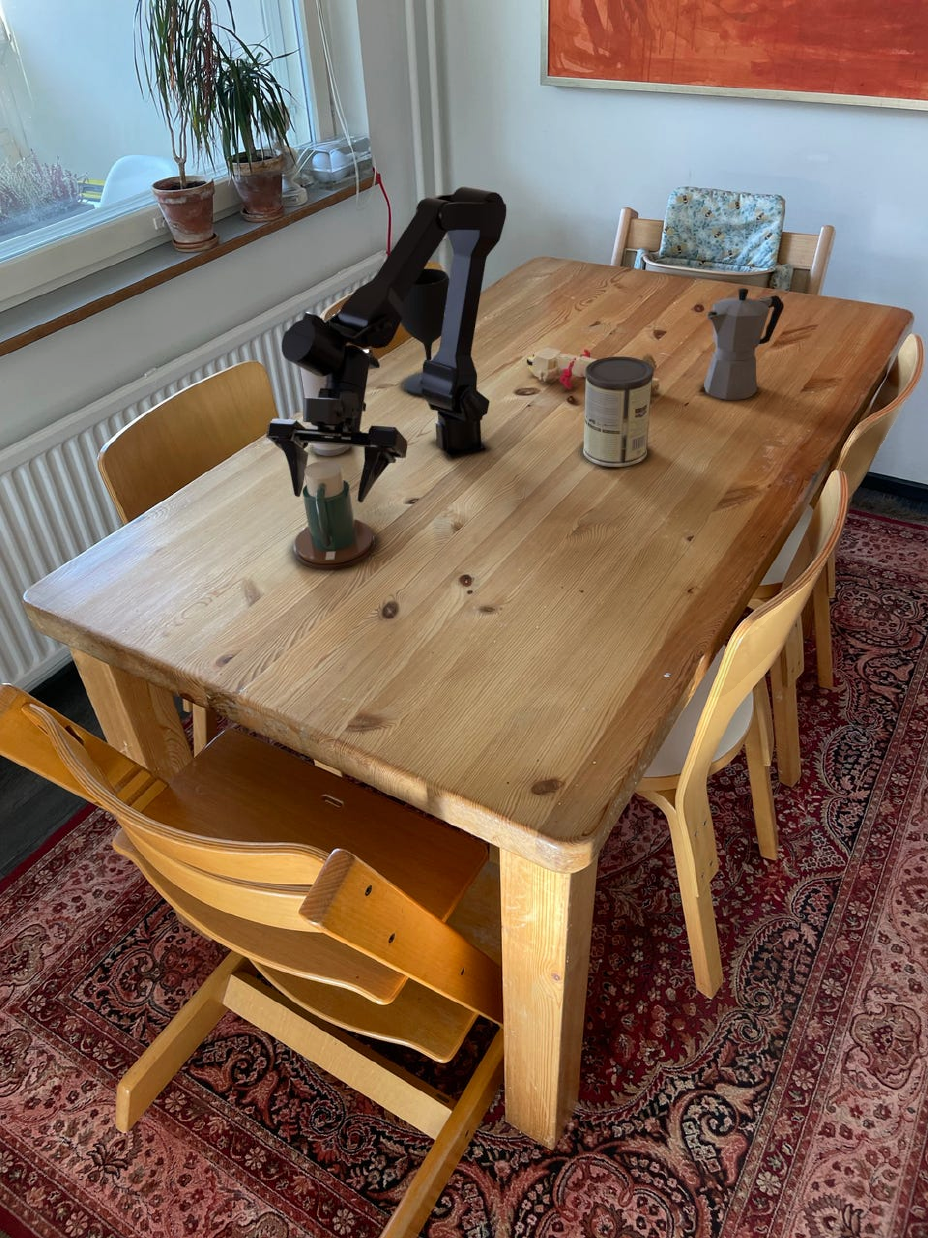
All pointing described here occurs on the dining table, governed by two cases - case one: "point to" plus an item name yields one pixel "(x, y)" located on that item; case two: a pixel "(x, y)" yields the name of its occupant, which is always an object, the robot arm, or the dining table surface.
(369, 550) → the turntable
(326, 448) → the travel mug
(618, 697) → the dining table surface
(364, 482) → the robot arm
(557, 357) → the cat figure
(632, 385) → the coffee can
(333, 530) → the green cylinder with handle
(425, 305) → the wine glass
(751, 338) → the coffeepot
